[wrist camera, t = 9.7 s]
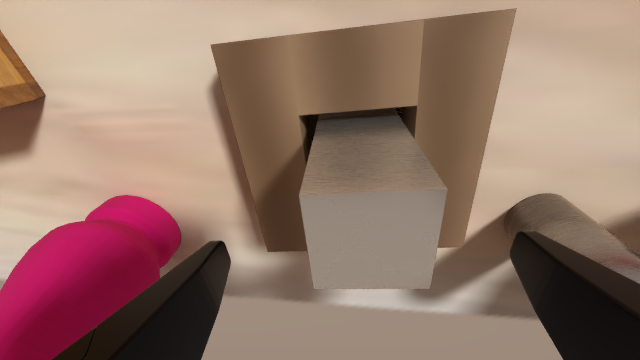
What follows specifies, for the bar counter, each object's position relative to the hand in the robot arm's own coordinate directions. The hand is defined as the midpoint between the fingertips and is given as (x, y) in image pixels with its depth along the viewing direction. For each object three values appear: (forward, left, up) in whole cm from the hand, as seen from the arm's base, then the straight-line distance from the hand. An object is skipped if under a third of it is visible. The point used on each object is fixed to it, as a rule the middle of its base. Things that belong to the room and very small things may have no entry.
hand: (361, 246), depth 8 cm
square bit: (0, 0, -9) cm, 9 cm away
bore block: (0, 0, -9) cm, 9 cm away
